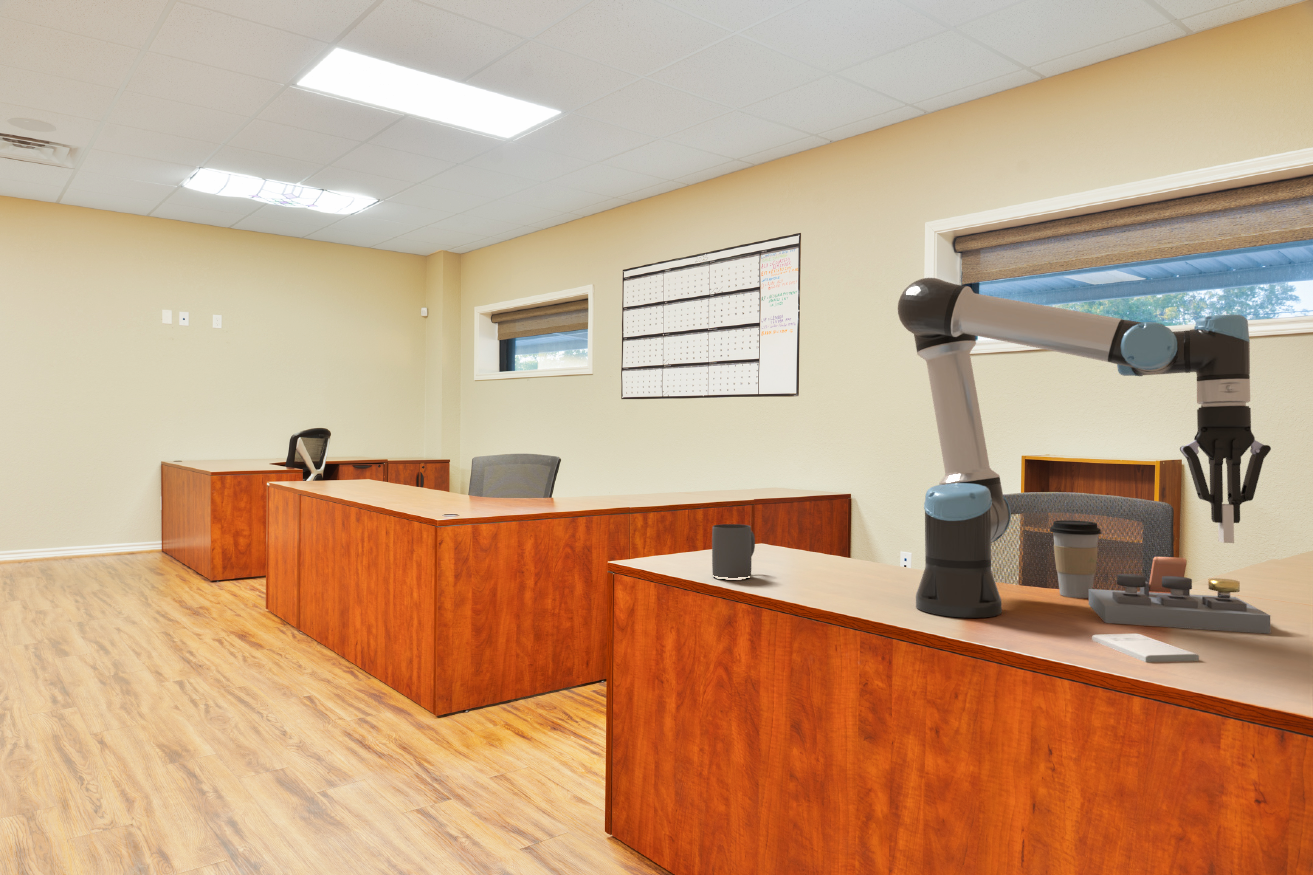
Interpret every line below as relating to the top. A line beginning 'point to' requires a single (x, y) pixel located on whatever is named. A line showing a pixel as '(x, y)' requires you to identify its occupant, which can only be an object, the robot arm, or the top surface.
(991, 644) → the top surface
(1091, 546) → the coffee cup
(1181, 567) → the paddle lever
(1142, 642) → the external hard drive
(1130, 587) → the black button left
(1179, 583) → the black button mid
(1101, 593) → the control panel
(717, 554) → the mug
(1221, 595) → the brass button
